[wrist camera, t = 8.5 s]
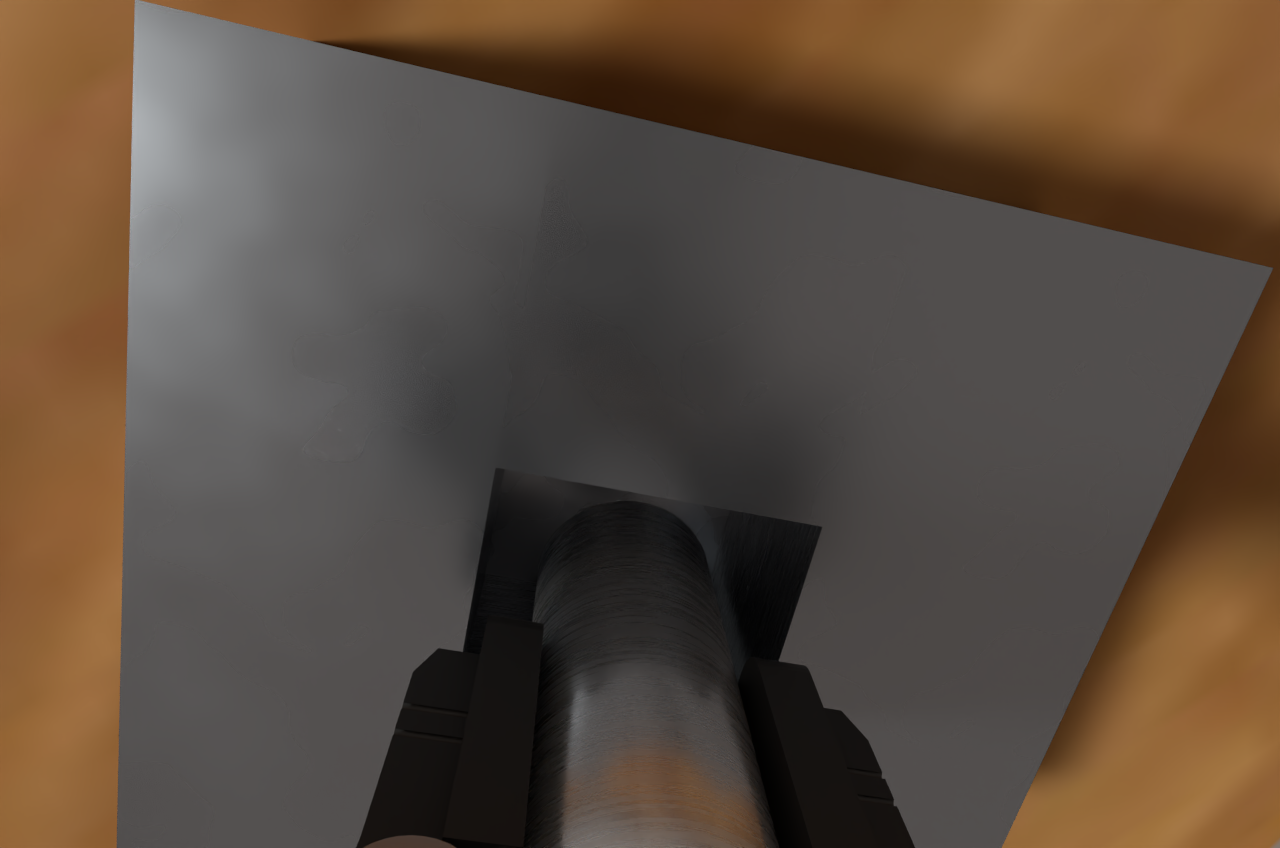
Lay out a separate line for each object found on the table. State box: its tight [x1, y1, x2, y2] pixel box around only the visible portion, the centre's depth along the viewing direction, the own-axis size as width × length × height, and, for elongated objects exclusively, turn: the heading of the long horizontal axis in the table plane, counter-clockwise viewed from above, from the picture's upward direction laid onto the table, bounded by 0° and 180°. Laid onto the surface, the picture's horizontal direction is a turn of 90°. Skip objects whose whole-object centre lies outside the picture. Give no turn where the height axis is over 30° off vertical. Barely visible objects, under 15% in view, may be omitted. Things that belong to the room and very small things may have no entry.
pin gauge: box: [523, 501, 779, 848], centre depth 9 cm, size 3×3×10 cm
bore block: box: [117, 0, 1273, 848], centre depth 15 cm, size 14×14×6 cm
